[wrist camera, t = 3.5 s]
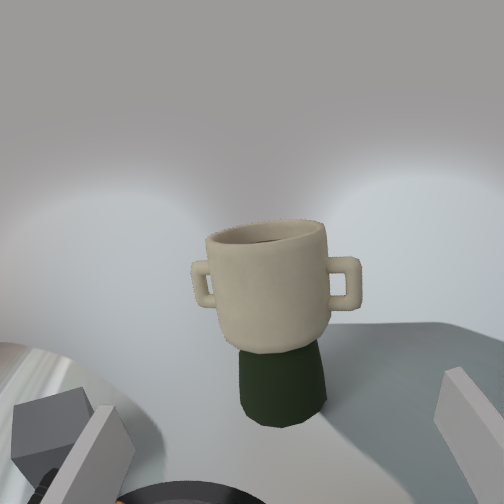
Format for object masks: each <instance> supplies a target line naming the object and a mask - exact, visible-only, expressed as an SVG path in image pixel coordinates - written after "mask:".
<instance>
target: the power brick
mask: <svg viewBox="0 0 504 504" xmlns="http://www.w3.org/2000/svg"><path fill="white" fill-rule="evenodd" d="M93 414H94V410H93V408H92V406H91V404H90V402H89V400H88V398H87V396H86V394H85V391H84V389H83V387H79V388H76V389H73V390H69V391H66V392H63V393H59V394H56V395H52V396H49V397H45V398H41V399H38V400H34V401H30V402H27V403H23V404H19V405H15V406H14V411H13V424H12V440H11V459H12V461H13V462H14V463H15V465H16V466H17V467H18V469H19V470H20V471H21V472H22V474H23V475H24V476H25V477H26V479H27V480H28V481H29V482H30V484H31V485H32V486H33V487H34V488H35V489H36V488H37V487H39V483H40V482H41V480H42V478H43V477H44V475H45V474H46V473H48V472H49V471H50V470H51V469H52V468H57V469H60V468H61V466H62V465H63V463H64V461H65V460H66V458H67V456H68V455H69V453H70V451H71V450H72V448H73V446H74V445H75V443H76V441H77V440H78V438H79V436H80V435H81V433H82V431H83V430H84V428H85V427H86V425H87V423H88V422H89V420H90V418H91V417H92V415H93Z"/></svg>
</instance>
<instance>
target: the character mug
mask: <svg viewBox="0 0 504 504" xmlns="http://www.w3.org/2000/svg"><path fill="white" fill-rule="evenodd" d="M205 242H206V251H207V258H208V261H196V262H194V263H192V265H191V277H192V282H193V288H194V293H195V298H196V301H197V303H198V305H199V306H201V307H205V308H216V309H217V314H218V320H219V324H220V327H221V330H222V333H223V335H224V337H225V339H226V341H227V342H229V343H230V344H231V345H233V346H234V347H236V348H237V349H239V350H240V352H239V387H240V401H241V405H242V407H243V409H244V411H245V413H246V415H247V416H248V417H249V418H251V419H252V420H254V421H256V422H257V423H259V424H260V425H263V426H270V427H278V428H284V427H288V426H291V425H295V424H300V423H303V422H304V421H306V420H307V419H309V418H310V417H312V416H313V415H315V414H316V413H318V412H319V411H320V409H321V408H322V406H323V405H324V403H325V401H326V400H327V396H326V388H325V380H324V372H323V366H322V361H321V356H320V352H319V347H318V342H317V339H318V338H319V337H321V335H322V334H323V332H324V330H325V328H326V327H327V325H328V322H329V320H330V318H331V311H352V310H355V309H358V308H360V306H361V303H362V266H361V263H360V261H359V259H357V258H354V257H328V247H327V236H326V230H325V226H324V224H323V223H320V222H316V221H311V220H272V221H264V222H257V223H251V224H246V225H241V226H237V227H233V228H228V229H224V230H222V231H219V232H216V233H214V234H211V235H210V236H209V237H207V238H206V240H205ZM329 273H344V274H345V277H346V295H344V296H330V280H329ZM206 275H211V281H212V287H213V292H214V295H213V294H209V291H208V286H207V280H206Z"/></svg>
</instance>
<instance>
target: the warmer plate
mask: <svg viewBox="0 0 504 504" xmlns="http://www.w3.org/2000/svg"><path fill="white" fill-rule="evenodd" d="M115 504H265V503H264V502H263V501H261V500H260V499H257V498H256V497H254V496H252V495H250V494H248V493H246V492H244V491H241V490H238V489H236V488H233V487H229V486H225V485H222V484H216V483H211V482H202V481H173V482H165V483H159V484H154V485H150V486H146V487H143V488H140V489H137V490H135V491H132V492H129V493H127V494H125V495H123V496H121V497H119V498H117V499H116V501H115Z"/></svg>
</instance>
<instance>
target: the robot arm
mask: <svg viewBox="0 0 504 504" xmlns="http://www.w3.org/2000/svg"><path fill="white" fill-rule="evenodd" d="M433 421H434V423H435V424H436V426H437V428H438V429H439V431H440V433H441V435H442V436H443V438H444V440H445V442H446V443H447V445H448V447H449V449H450V450H451V452H452V454H453V456H454V458H455V459H456V461H457V463H458V465H459V467H460V469H461V470H462V472H463V474H464V476H465V478H466V480H467V482H468V484H469V485H470V487H471V489H472V491H473V493H474V495H475V497H476V499H477V501H478V503H479V504H504V419H503V417H502V416H501V415H500V414H499V412H498V411H497V410H496V409H495V407H494V406H493V405H492V404H491V403H490V401H489V400H488V399H487V398H486V396H485V395H484V394H483V393H482V392H481V390H480V389H479V388H478V387H477V386H476V384H475V383H474V382H473V381H472V380H471V379H470V377H469V376H468V375H467V374H466V373H465V372H464V370H463V369H462V368H461V367H460V366H459V367H456V368H453V369H450V370H446V371H445V372H444V376H443V381H442V386H441V390H440V394H439V398H438V403H437V406H436V410H435V414H434V418H433ZM135 452H136V449H135V447H134V445H133V443H132V441H131V439H130V437H129V435H128V433H127V431H126V429H125V427H124V425H123V423H122V421H121V419H120V416H119V414H118V412H117V410H116V408H115V406H111V405H99V406H98V407H97V409H96V410H95V412H94V414H93V415H92V417H91V418H90V420H89V422H88V423H87V425H86V427H85V428H84V430H83V431H82V433H81V435H80V436H79V438H78V440H77V441H76V443H75V445H74V446H73V448H72V450H71V451H70V453H69V455H68V456H67V458H66V460H65V461H64V463H63V465H62V466H61V468H60V469H57V468H52V469H51V470H50V471H49V472H48V473H46V474H45V475H44V477H43V478H42V480H41V482H40V483H39V487H37V488H36V490H35V492H34V493H35V494H33V495H32V497H31V498H30V500H29V502H28V503H27V504H115V501H116V499H117V496H118V494H119V491H120V489H121V486H122V484H123V481H124V479H125V476H126V474H127V471H128V469H129V466H130V464H131V462H132V459H133V457H134V454H135Z"/></svg>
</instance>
